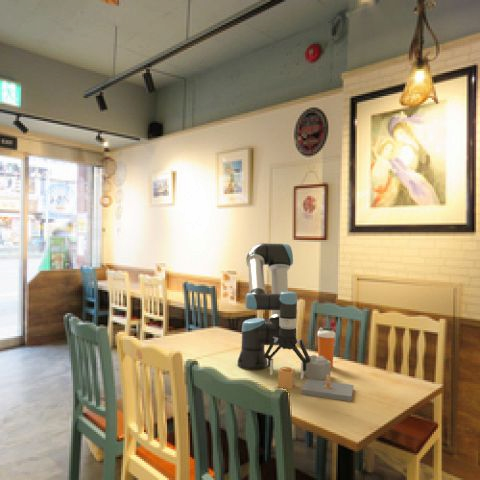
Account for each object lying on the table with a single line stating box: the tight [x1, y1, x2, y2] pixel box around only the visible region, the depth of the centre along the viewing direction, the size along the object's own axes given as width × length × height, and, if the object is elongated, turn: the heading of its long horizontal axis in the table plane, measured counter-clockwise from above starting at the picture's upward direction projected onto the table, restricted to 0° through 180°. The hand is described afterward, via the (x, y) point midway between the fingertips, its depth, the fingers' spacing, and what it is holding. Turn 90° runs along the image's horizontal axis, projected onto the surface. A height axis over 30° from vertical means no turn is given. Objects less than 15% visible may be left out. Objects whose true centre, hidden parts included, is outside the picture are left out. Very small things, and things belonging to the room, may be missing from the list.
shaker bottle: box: [317, 325, 336, 369], centre depth 207 cm, size 9×9×20 cm
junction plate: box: [301, 374, 354, 402], centre depth 172 cm, size 20×14×7 cm
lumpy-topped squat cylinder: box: [304, 354, 332, 381], centre depth 193 cm, size 10×13×9 cm
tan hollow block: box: [277, 366, 296, 390], centre depth 178 cm, size 6×6×8 cm
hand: (286, 376), depth 177 cm, fingers open, 13 cm apart
